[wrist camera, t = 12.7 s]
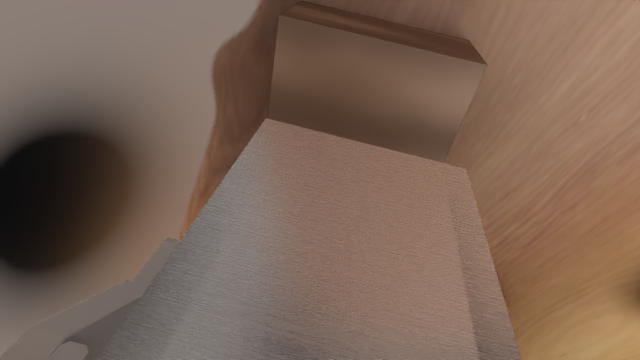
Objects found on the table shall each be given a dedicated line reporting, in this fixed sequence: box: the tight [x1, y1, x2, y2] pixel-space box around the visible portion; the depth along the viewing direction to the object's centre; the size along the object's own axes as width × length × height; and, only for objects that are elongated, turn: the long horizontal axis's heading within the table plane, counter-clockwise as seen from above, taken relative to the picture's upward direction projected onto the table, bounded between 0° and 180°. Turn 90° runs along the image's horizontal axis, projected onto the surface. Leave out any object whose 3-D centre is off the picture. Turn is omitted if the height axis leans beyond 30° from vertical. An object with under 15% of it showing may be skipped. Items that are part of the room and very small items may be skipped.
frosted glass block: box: [97, 118, 521, 360], centre depth 10 cm, size 6×7×9 cm
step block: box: [267, 1, 488, 163], centre depth 26 cm, size 12×12×6 cm
